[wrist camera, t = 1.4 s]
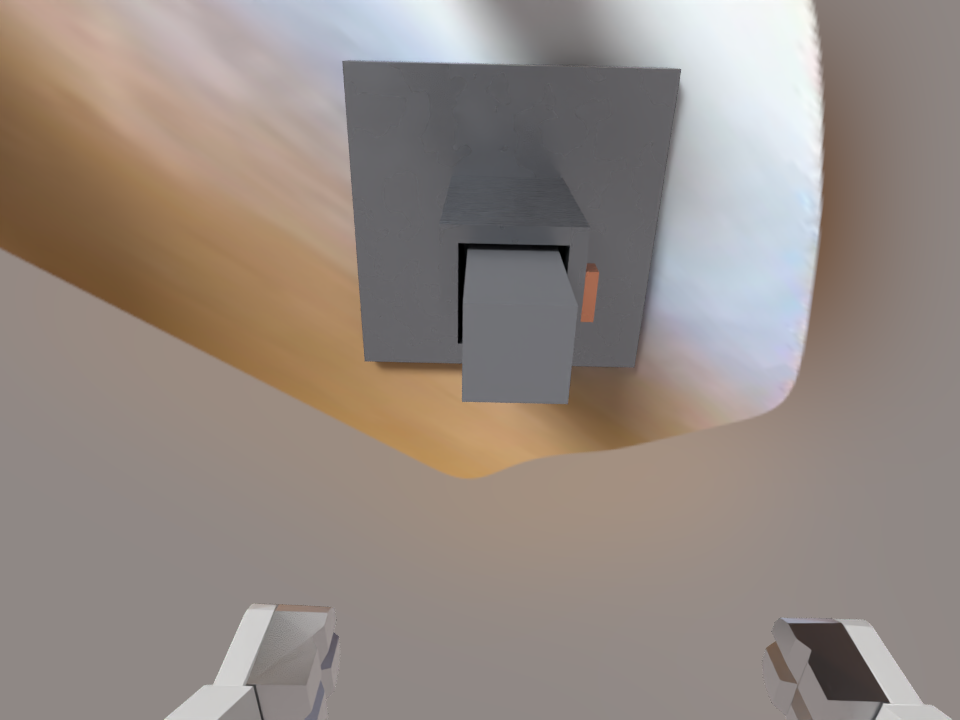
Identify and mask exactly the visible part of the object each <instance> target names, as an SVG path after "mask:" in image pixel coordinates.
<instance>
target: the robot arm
mask: <svg viewBox="0 0 960 720" xmlns="http://www.w3.org/2000/svg"><path fill="white" fill-rule="evenodd" d="M336 621H337V619H336V613H335V608H333V607H320V606H302V605H283V604H256V603H255V604H254V603H253V604H251V606H250V607H249V608H248V609H247V610H246V612H245V614H244V616H243V619H242V621H241V623H240V625H239V628H238V630H237V633H236V634H235V637H234V639H233V641H232V643H231V646H230V648H229V650H228V652H227V655H226V657H225V659H224V661H223V664H222V666H221V668H220V670H219V673H218V675H217V677H216V679H215V682H214V684H213V685H204V686H203V687H202V688H200V689H199V690H198V691H197V692H196V693H195V694H193V695H192V696H191V697H190V698H189V699H187V700H186V701H185V702H184V703H183V704H182V705H180V706H179V707H178V708H177V709H176V710H174V711H173V712H172V713H171V714H170V715H169V716H167V717H166V718H165V719H164V720H327V718H328V710H327V703H326V699H327V698H328V697H329V696H330V695H331V694H332V693H333V692H334V690H335V686H336V682H337V677H338V671H339V663H340V641H339V636H338V635H336V634H335V633H334V628H335V625H336ZM771 632H772V634H773V636H774V638H775V640H776V641H775V642H774V643H772V644H771V645H769V646H768V647H767V648H766V649H765V653H764V657H763V660H762V666H763V678H764V683H765V687H766V690H767V692H768V695H769V698H770V700H771V703H772V704H773V705H774V706H775V707H776V708H778V709H779V710H780V711H781V712H782V713H783V714H784V715H785V716H786V717H785V720H952V719H950V718H949V717H948V716H946V715H945V714H944V713H942V712H941V711H940V710H938V709H937V708H936V707H934V706H933V705H924V704H923V703H922V701H921V700H920V698H919V697H918V695H917V694H916V692H915V691H914V689H913V688H912V686H911V685H910V683H909V681H908V680H907V678H906V677H905V676H904V674H903V672H902V671H901V669H900V668H899V666H898V665H897V663H896V662H895V660H894V659H893V657H892V656H891V654H890V653H889V651H888V650H887V648H886V647H885V645H884V644H883V642H882V640H881V639H880V637H879V636H878V634H877V633H876V631H875V630H874V628H873V627H872V625H871V624H869V623H868V622H867V621H865V620H852V619H832V618H779V619H778V620H777V621H776V622H775V623H774V626H773V629H772V631H771Z"/></svg>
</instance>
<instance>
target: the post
mask: <svg viewBox="0 0 960 720" xmlns="http://www.w3.org/2000/svg"><path fill="white" fill-rule="evenodd" d="M577 310H578V305H577V302H576V299H575V296H574V293H573V290H572V287H571V285H570V282H569V279H568V276H567V273H566V270H565V267H564V264H563V262H562V259H561V256H560V253H559V250H558V247H557V245H524V244H481V243H468V251H467V262H466V274H465V285H464V296H463V349H462V402H500V403H544V404H568V398H569V388H570V378H571V368H572V359H573V349H574V339H575V330H576V320H577Z"/></svg>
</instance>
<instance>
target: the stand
mask: <svg viewBox="0 0 960 720" xmlns="http://www.w3.org/2000/svg"><path fill="white" fill-rule="evenodd" d="M342 62H343V75H344V89H345V102H346V115H347V129H348V142H349V156H350V169H351V182H352V196H353V209H354V223H355V236H356V250H357V263H358V276H359V290H360V303H361V317H362V330H363V343H364V357H365V361H375V362H419V363H462V349H463V296H464V285H465V274H466V262H467V251H468V243H481V244H524V245H557V247H558V250H559V253H560V256H561V259H562V262H563V264H564V267H565V270H566V273H567V276H568V279H569V282H570V285H571V287H572V290H573V293H574V296H575V299H576V302H577V305H578V310H577V320H576V330H575V339H574V349H573V359H572V366H595V367H634V366H635V360H636V354H637V347H638V341H639V335H640V328H641V322H642V315H643V309H644V303H645V296H646V290H647V284H648V277H649V271H650V264H651V258H652V252H653V245H654V239H655V232H656V226H657V220H658V213H659V207H660V201H661V194H662V188H663V181H664V175H665V169H666V162H667V156H668V150H669V143H670V137H671V130H672V124H673V118H674V111H675V105H676V99H677V92H678V86H679V79H680V73H681V69H676V68H649V67H607V66H565V65H523V64H481V63H439V62H397V61H355V60H347V61H342Z"/></svg>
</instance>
